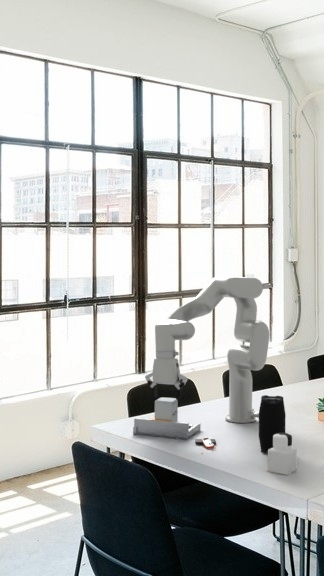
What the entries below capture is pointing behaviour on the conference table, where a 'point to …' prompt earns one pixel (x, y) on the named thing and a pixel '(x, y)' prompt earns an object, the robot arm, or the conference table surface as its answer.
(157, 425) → the grey tray
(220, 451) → the conference table surface
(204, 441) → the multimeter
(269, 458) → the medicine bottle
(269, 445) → the portable speaker
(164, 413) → the supplement box
